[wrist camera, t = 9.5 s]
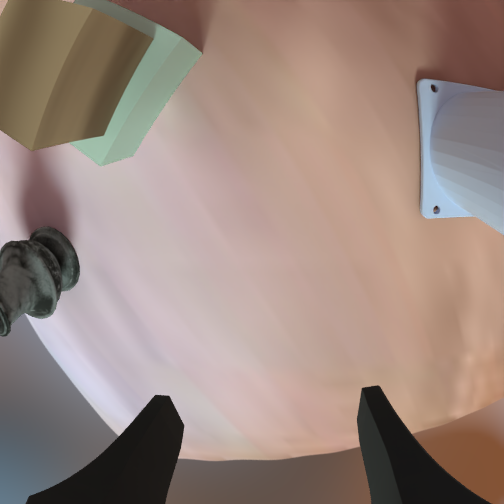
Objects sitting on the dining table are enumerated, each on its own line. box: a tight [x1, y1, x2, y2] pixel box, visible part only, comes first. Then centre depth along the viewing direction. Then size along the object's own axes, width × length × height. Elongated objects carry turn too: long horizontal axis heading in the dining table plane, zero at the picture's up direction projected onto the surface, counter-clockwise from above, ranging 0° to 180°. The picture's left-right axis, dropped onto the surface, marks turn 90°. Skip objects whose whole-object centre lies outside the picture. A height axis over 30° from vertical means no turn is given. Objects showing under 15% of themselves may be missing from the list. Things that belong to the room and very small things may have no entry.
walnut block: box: [0, 0, 154, 151], centre depth 9 cm, size 5×5×5 cm
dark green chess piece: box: [0, 227, 80, 336], centre depth 14 cm, size 6×6×12 cm
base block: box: [69, 0, 203, 166], centre depth 13 cm, size 7×7×4 cm
